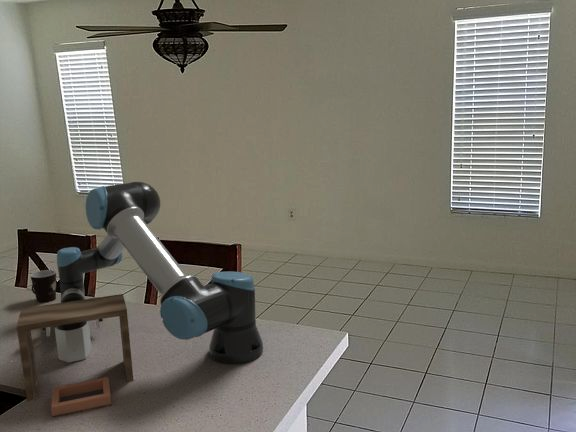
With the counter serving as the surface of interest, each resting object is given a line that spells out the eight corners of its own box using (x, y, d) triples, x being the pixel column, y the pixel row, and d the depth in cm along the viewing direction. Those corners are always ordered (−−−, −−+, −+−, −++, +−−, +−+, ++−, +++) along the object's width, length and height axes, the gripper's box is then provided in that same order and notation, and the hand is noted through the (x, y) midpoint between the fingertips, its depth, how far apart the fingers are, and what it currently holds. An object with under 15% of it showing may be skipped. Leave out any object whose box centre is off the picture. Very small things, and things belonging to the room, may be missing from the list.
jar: (60, 365, 150) (55, 324, 147) (56, 353, 157) (52, 314, 154) (94, 357, 154) (89, 317, 152) (89, 346, 161) (85, 308, 159)
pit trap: (53, 396, 134) (52, 387, 133) (109, 385, 138) (108, 376, 138) (52, 417, 125) (51, 407, 125) (111, 404, 130) (110, 395, 129)
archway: (30, 378, 143) (21, 308, 139) (129, 360, 152) (122, 293, 148) (27, 401, 132) (16, 326, 128) (133, 380, 141) (126, 309, 137)
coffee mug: (49, 294, 206) (46, 268, 204) (64, 297, 202) (61, 271, 200) (21, 304, 197) (17, 277, 194) (35, 308, 192) (32, 281, 190)
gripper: (114, 308, 182) (119, 332, 163) (32, 320, 174) (27, 347, 154) (112, 286, 181) (116, 308, 161) (29, 298, 172) (24, 323, 153)
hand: (73, 328), depth 158 cm, fingers open, 13 cm apart
